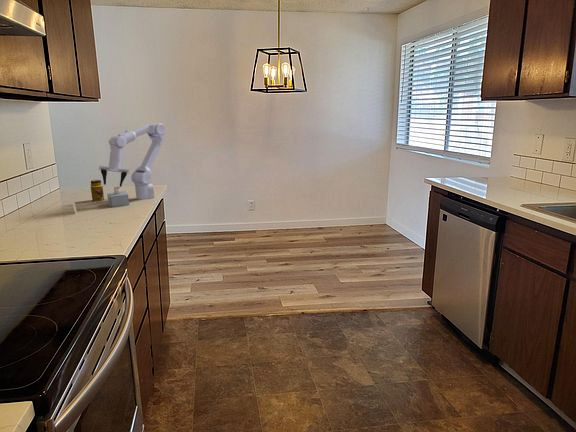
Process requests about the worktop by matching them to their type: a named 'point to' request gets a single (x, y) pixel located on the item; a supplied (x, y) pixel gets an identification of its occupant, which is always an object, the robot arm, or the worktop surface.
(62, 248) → the worktop surface
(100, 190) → the condiment
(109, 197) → the cover
